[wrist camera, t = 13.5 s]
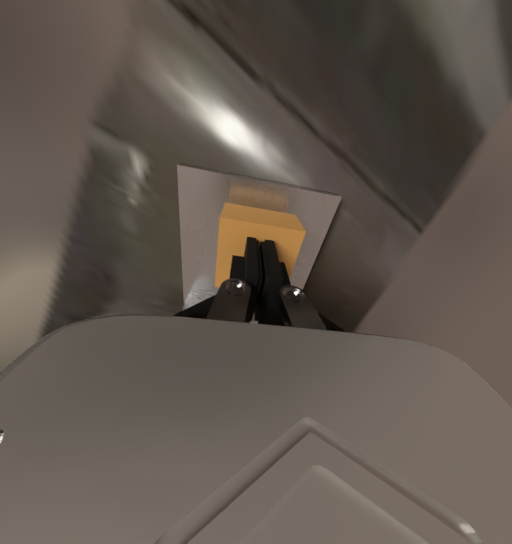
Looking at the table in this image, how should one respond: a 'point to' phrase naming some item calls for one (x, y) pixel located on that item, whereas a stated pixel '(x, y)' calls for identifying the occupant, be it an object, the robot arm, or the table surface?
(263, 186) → the gray tray
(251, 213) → the amber wooden brick
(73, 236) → the table surface
